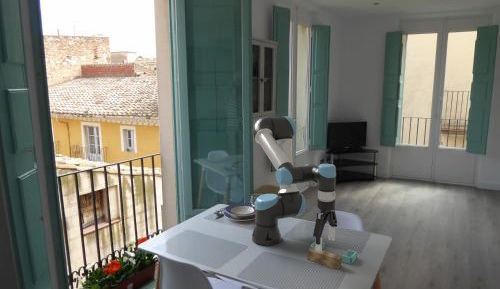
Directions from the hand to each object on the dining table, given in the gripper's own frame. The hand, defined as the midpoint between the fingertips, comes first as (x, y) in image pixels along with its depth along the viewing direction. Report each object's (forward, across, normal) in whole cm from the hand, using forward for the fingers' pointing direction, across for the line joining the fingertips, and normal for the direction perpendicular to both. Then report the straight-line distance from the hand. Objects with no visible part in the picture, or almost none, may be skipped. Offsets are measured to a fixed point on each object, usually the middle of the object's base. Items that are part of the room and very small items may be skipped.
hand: (325, 245), depth 158 cm
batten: (+9, 0, 0) cm, 9 cm away
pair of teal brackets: (+8, +10, 0) cm, 13 cm away
